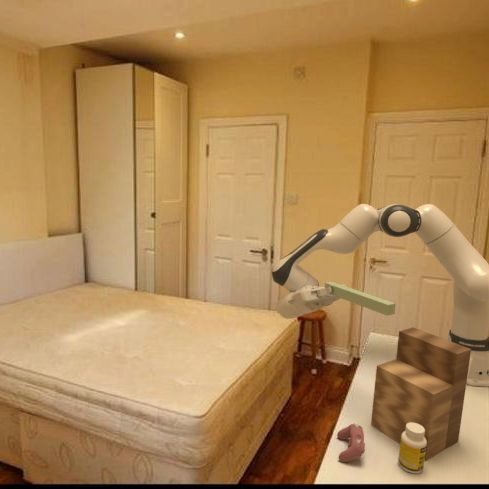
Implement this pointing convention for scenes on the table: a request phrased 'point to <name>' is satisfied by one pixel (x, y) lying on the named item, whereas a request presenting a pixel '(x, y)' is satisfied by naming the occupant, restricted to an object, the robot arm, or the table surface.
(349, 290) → the bar
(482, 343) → the robot arm
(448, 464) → the table surface
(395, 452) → the table surface
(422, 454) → the supplement bottle
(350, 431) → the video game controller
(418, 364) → the pedestal
